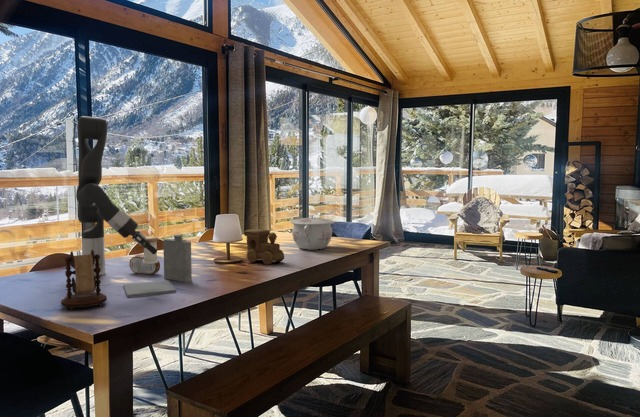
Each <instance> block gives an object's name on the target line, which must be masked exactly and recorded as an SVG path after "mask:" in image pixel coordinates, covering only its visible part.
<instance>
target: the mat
mask: <svg viewBox="0 0 640 417" xmlns="http://www.w3.org/2000/svg"><path fill="white" fill-rule="evenodd" d="M122 286H123V290H124V292H125V294H126V298H135V297H144V296H145V297H146V296H153V295H154V296H155V295H163V294H171V293H176V292H177V290H176V288H175V287H174V286H173V284H172V283H171V282H170V280H169V279H166V280H157V281H156V280H155V281H148V282H137V283H135V282H134V283H126V284H123V285H122Z"/></svg>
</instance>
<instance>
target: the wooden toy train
mask: <svg viewBox="0 0 640 417" xmlns="http://www.w3.org/2000/svg"><path fill="white" fill-rule="evenodd" d="M243 236H244V237H246V245H247V246H246V247H247V251H246V258H247V260H248V262H250V263H256V262H257V261H258V260H261V261H262V262H263V264H265V265H267V266H270V265H271V264H272V263H273V262H276V263H282V262H283V260H285V254H284V252H283V250H282V249H280V248H281V246H280V243H275V242H276V240H277V237H278V236H277V234H276V233H275V232H271V230H269V229H262V228H258V229H257V228H256V229H255V228H252V229H247V230H244V235H243Z"/></svg>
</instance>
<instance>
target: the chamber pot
mask: <svg viewBox="0 0 640 417" xmlns="http://www.w3.org/2000/svg"><path fill="white" fill-rule="evenodd" d="M289 223H290V224H293V228H292V231H291V233H292V239H293V241H294V243H295V245H296V246H297V247H298V248H300V249H301V250H304V249H307V250H306V251H319V250H318V249H320V250H323V249H325V248H327V247H328V246H329V244H330V242H331V240H332V236H333V228H332V226H331V225H332V224H335V221H334V220H332V219H328V218H322V217H321V218H320V217H314V215H313V214H311V216H310V217H302V218H296V219H293V220H290V221H289Z"/></svg>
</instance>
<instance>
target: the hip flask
mask: <svg viewBox="0 0 640 417" xmlns="http://www.w3.org/2000/svg"><path fill="white" fill-rule="evenodd" d="M162 241H163V243H162V244H163V279H164V280H165V279H166V280H173V281H179V282H183V283H185V284H186V283H192V281H193V280H192V278H193V277H192V272H193V271H192V241H190V240H188V239H183V234H174V235H173V238H163V240H162Z"/></svg>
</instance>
